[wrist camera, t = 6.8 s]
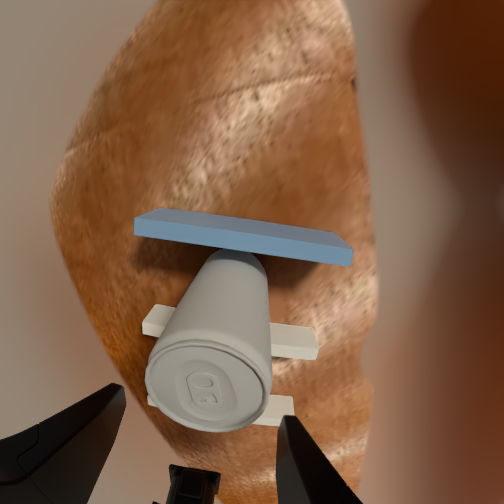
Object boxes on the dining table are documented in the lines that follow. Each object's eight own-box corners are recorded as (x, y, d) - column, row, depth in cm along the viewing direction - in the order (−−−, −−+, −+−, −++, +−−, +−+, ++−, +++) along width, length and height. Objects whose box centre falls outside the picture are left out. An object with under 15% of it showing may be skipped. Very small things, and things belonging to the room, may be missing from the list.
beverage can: (205, 309, 22) (161, 431, 10) (195, 248, 20) (124, 339, 9) (269, 305, 21) (276, 433, 10) (264, 242, 20) (268, 335, 9)
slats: (290, 403, 24) (293, 439, 20) (157, 383, 24) (143, 416, 20) (334, 232, 20) (354, 249, 16) (160, 207, 20) (134, 217, 15)
